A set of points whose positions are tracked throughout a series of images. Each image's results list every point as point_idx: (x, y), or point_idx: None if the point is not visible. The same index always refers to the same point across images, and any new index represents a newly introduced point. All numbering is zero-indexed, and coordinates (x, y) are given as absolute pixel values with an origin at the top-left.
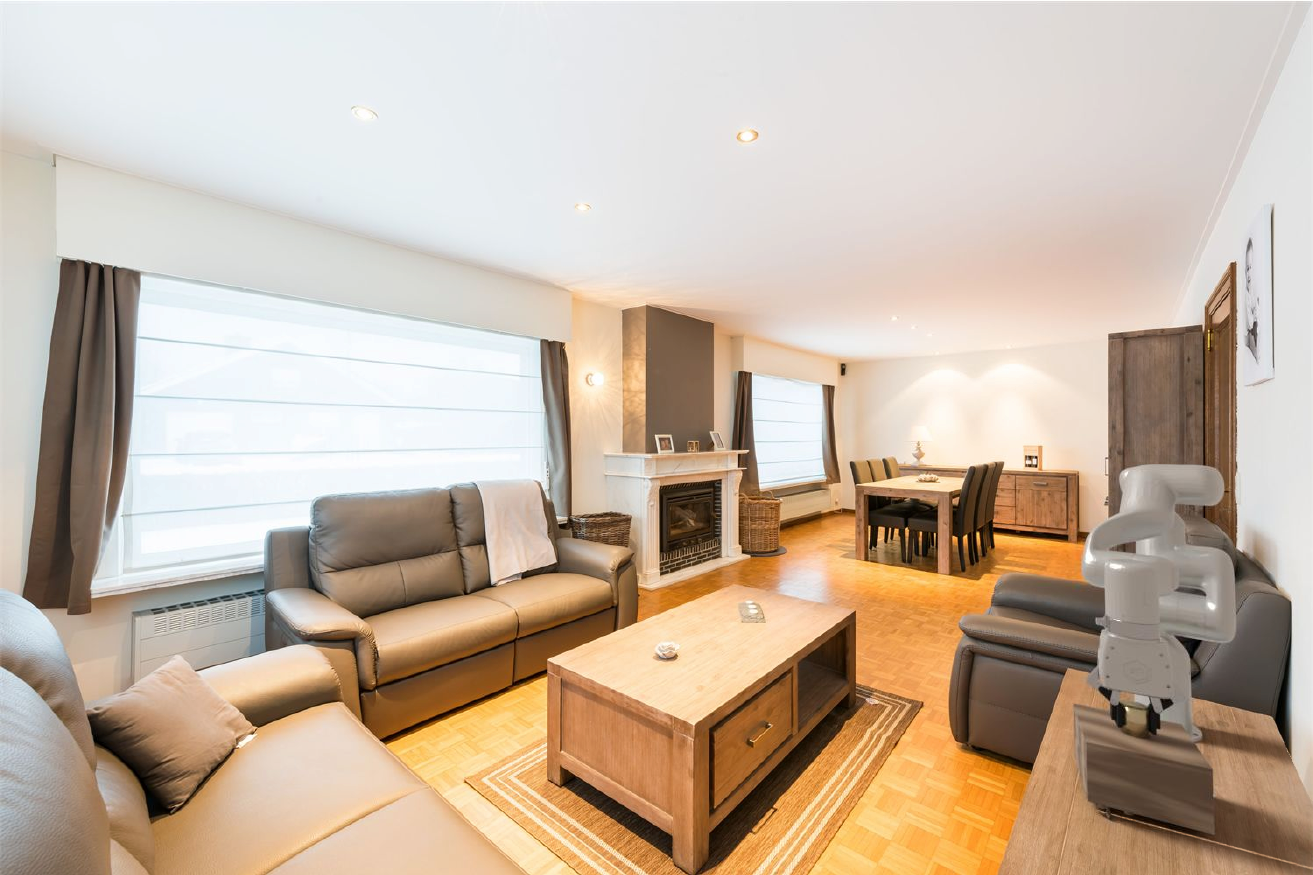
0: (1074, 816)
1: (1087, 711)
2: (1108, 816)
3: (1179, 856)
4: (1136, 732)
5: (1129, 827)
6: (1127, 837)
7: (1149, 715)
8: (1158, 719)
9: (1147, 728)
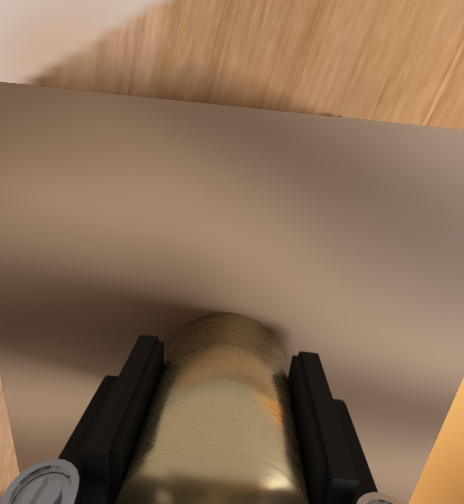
0: (427, 91)
1: None
2: (340, 116)
3: (214, 8)
4: (235, 329)
5: (295, 103)
6: (319, 43)
7: (133, 448)
8: (89, 422)
9: (174, 360)
